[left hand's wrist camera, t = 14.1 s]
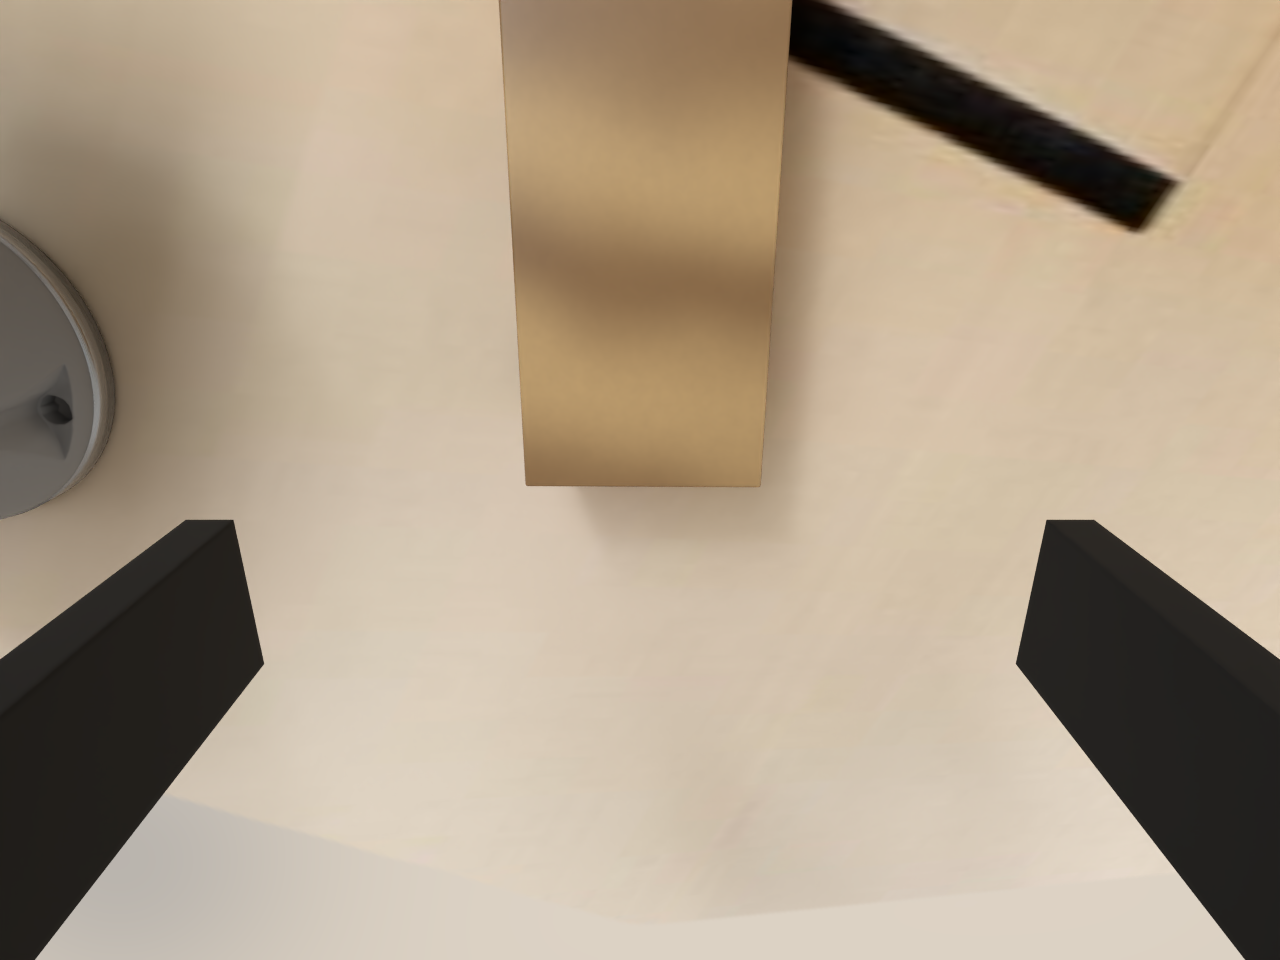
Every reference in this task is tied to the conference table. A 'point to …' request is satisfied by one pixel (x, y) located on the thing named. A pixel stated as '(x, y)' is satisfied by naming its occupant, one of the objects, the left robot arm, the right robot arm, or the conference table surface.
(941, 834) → the conference table surface
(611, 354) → the wide beam
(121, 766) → the left robot arm
